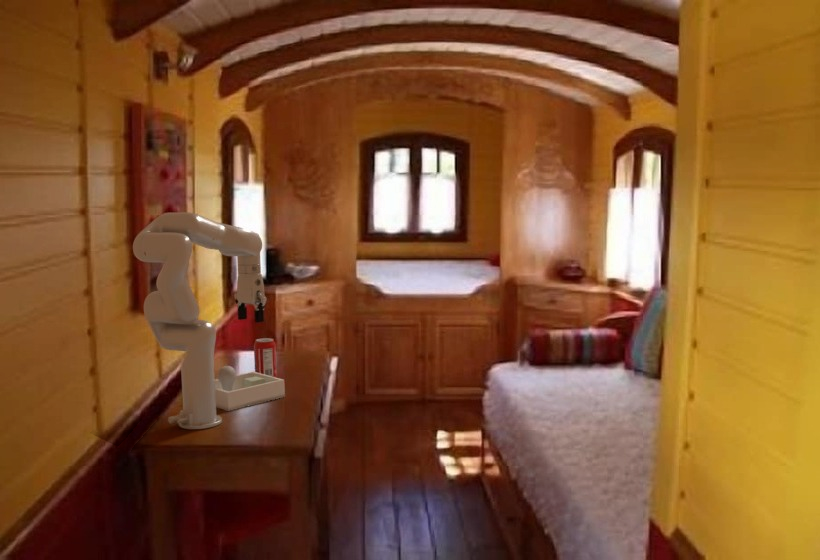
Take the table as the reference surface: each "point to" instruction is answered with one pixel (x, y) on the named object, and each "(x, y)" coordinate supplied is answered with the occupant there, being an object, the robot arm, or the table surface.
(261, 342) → the soda can
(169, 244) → the robot arm
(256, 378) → the sage cube
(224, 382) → the lightbulb
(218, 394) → the tote
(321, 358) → the table surface
